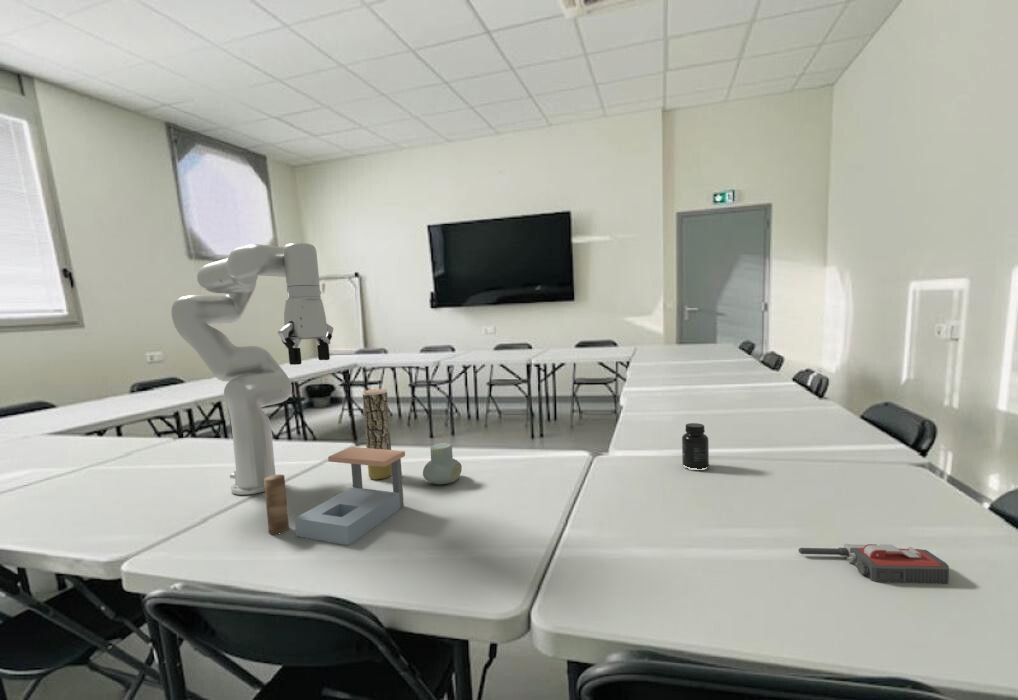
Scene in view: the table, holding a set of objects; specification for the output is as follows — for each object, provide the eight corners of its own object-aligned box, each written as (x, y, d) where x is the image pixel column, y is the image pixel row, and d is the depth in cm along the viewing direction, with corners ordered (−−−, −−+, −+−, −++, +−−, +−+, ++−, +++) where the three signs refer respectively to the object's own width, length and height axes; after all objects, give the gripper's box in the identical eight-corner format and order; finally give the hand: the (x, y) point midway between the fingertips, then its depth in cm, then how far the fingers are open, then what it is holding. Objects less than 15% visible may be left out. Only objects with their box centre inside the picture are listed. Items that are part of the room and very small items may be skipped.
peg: (264, 533, 101) (259, 480, 100) (279, 525, 105) (275, 473, 104) (278, 536, 100) (273, 481, 99) (293, 527, 103) (288, 475, 102)
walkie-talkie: (918, 557, 81) (795, 554, 83) (919, 532, 80) (795, 531, 83) (961, 587, 72) (822, 583, 75) (961, 559, 72) (822, 556, 74)
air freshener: (447, 489, 121) (445, 452, 121) (420, 487, 124) (417, 450, 123) (465, 475, 132) (463, 441, 131) (439, 473, 134) (437, 439, 134)
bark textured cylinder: (386, 480, 130) (380, 393, 128) (364, 480, 132) (357, 393, 130) (396, 472, 137) (391, 388, 135) (375, 471, 138) (369, 389, 136)
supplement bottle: (680, 463, 133) (679, 422, 132) (705, 463, 132) (704, 421, 131) (685, 471, 126) (684, 428, 125) (712, 471, 125) (711, 428, 124)
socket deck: (292, 535, 99) (287, 473, 98) (355, 499, 118) (351, 446, 117) (352, 546, 94) (347, 480, 92) (408, 505, 112) (404, 451, 111)
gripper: (317, 295, 125) (323, 358, 126) (263, 294, 109) (271, 366, 110) (339, 293, 122) (345, 358, 124) (288, 292, 106) (295, 366, 108)
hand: (310, 362), depth 117 cm, fingers open, 9 cm apart
